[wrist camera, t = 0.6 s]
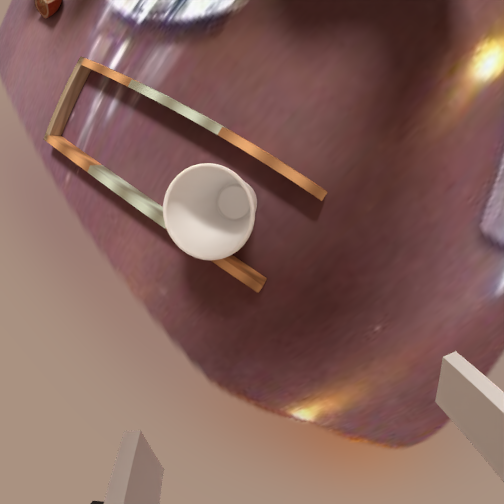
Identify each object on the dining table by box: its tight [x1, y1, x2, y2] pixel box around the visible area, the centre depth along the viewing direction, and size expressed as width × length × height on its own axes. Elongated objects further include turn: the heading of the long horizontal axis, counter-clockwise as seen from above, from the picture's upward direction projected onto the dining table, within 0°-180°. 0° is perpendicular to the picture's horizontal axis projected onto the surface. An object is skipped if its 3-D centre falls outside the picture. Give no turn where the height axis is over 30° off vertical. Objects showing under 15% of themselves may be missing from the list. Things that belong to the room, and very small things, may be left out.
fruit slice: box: [35, 0, 62, 18], centre depth 37 cm, size 8×7×5 cm
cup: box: [163, 163, 257, 260], centre depth 37 cm, size 10×10×11 cm
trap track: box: [44, 57, 327, 293], centre depth 41 cm, size 44×15×3 cm, turn 58°
